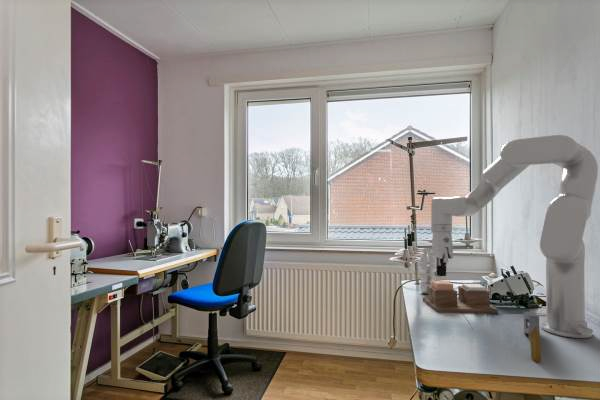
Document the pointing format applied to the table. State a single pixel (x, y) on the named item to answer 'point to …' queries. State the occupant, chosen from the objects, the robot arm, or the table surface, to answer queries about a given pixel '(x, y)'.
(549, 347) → the table surface
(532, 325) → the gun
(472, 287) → the white square block
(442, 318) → the table surface
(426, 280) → the plastic bottle
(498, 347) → the table surface
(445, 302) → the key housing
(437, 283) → the terracotta key
